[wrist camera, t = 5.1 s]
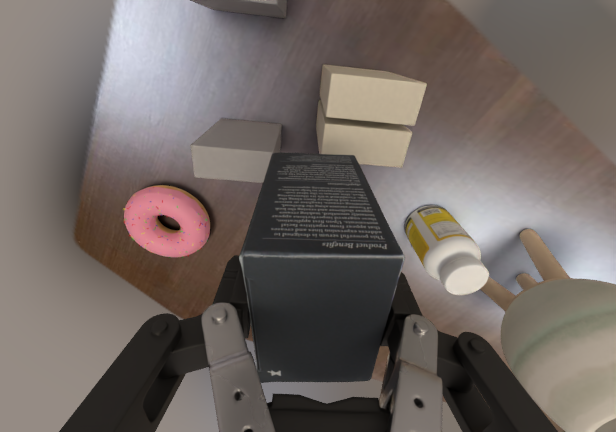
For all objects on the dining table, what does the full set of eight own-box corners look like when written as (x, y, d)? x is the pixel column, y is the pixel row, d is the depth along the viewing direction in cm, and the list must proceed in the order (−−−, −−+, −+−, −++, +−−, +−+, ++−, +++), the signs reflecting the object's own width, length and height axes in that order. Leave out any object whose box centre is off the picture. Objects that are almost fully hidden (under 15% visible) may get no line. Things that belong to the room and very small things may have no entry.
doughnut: (157, 163, 34) (140, 176, 30) (229, 214, 38) (222, 231, 34) (120, 215, 38) (101, 233, 34) (189, 256, 42) (178, 276, 39)
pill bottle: (411, 246, 41) (445, 308, 32) (396, 216, 38) (428, 274, 29) (454, 228, 40) (503, 287, 30) (441, 195, 37) (491, 249, 27)
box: (344, 246, 22) (372, 385, 13) (274, 244, 22) (253, 384, 13) (357, 151, 18) (411, 259, 9) (270, 149, 17) (233, 256, 8)
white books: (322, 64, 28) (331, 73, 19) (387, 71, 29) (427, 83, 19) (315, 127, 32) (320, 160, 22) (373, 132, 32) (402, 167, 23)
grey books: (210, -33, 24) (158, -75, 16) (287, -22, 24) (279, -58, 16) (223, 143, 33) (194, 177, 24) (280, 148, 33) (272, 184, 25)
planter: (547, 198, 37) (798, 356, 18) (568, 266, 44) (765, 432, 25) (436, 252, 42) (542, 420, 23) (471, 306, 49) (574, 468, 30)
